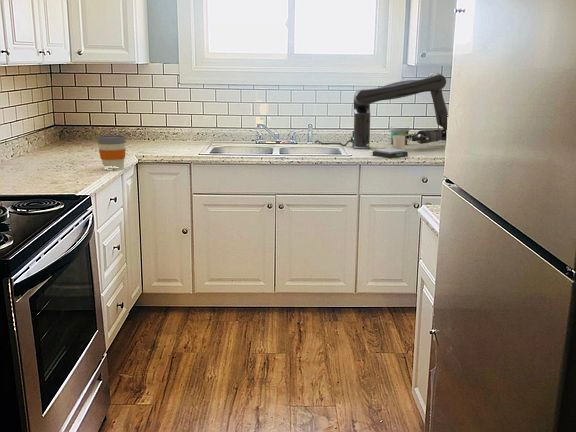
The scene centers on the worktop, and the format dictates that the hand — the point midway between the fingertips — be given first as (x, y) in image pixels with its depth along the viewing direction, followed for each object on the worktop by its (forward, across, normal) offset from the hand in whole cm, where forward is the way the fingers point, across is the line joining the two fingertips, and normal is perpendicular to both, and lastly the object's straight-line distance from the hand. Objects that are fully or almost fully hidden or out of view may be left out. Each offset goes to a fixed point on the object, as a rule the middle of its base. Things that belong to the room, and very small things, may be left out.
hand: (406, 138), depth 339 cm
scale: (+19, +6, +7) cm, 21 cm away
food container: (-19, -24, +7) cm, 31 cm away
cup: (+6, 0, +7) cm, 9 cm away
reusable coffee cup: (+149, -46, +8) cm, 156 cm away
